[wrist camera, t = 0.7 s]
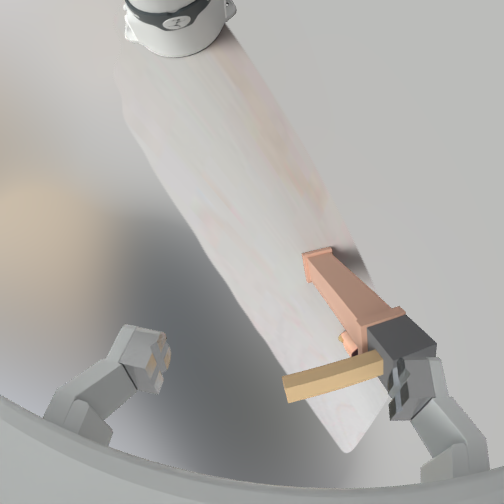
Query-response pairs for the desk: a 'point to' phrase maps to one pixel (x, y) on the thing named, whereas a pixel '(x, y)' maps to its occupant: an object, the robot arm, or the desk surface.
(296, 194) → the desk surface
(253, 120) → the desk surface
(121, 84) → the desk surface
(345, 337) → the grandmother figurine
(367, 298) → the stand
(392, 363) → the mallet
